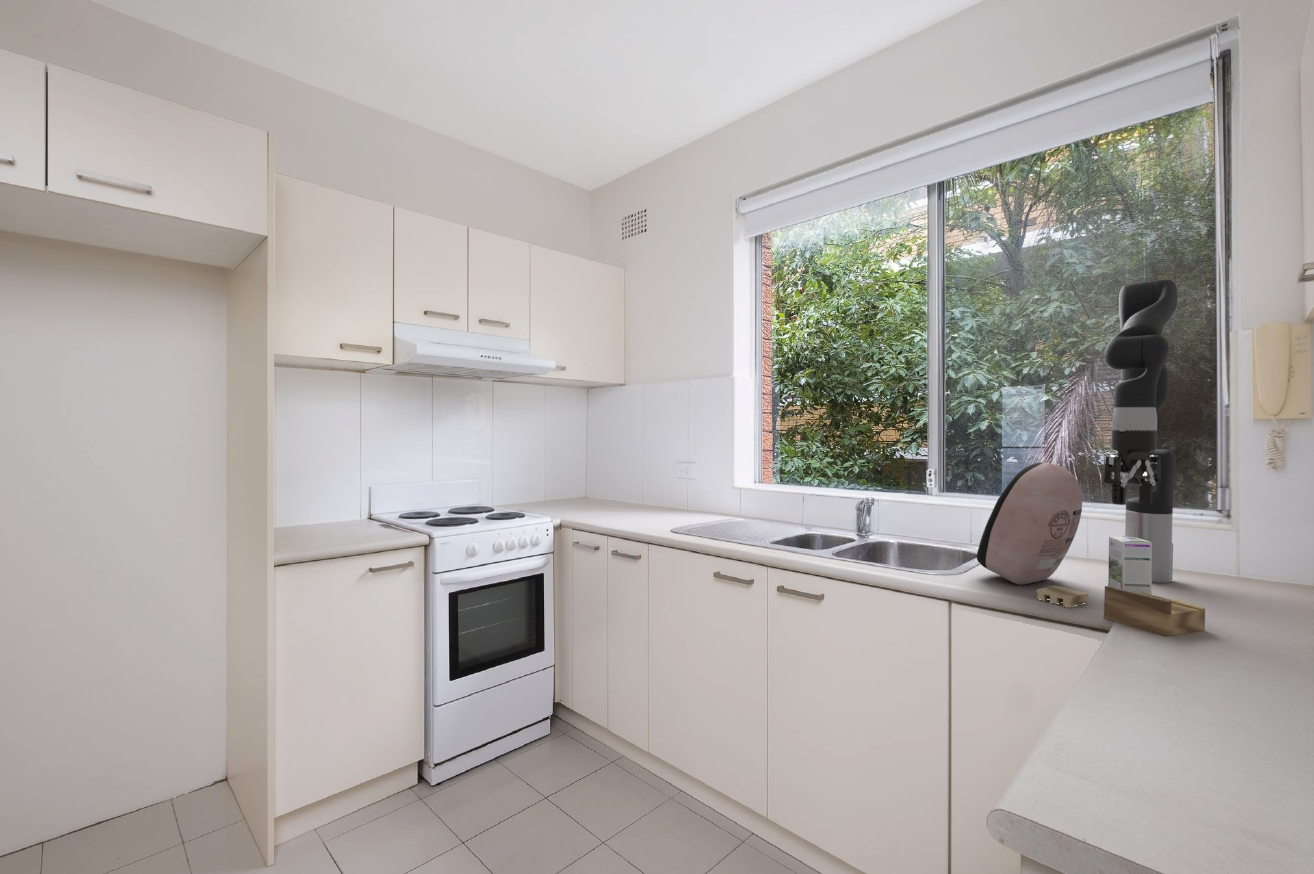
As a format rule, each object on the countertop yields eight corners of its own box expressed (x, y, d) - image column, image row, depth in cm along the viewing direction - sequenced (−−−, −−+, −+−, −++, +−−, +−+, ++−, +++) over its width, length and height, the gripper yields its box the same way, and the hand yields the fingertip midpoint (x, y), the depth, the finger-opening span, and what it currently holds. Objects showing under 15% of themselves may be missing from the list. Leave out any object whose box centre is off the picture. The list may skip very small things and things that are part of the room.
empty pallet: (1053, 595, 134) (1053, 585, 134) (1088, 603, 128) (1088, 593, 128) (1036, 599, 130) (1036, 589, 130) (1071, 608, 124) (1071, 597, 124)
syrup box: (1152, 609, 124) (1154, 541, 124) (1120, 607, 125) (1122, 540, 125) (1136, 602, 129) (1138, 536, 129) (1106, 600, 131) (1107, 535, 130)
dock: (1140, 612, 122) (1141, 582, 122) (1204, 630, 111) (1205, 596, 111) (1103, 617, 118) (1104, 586, 118) (1166, 636, 108) (1167, 601, 108)
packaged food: (1013, 568, 160) (1015, 458, 159) (1095, 585, 143) (1098, 463, 142) (964, 578, 149) (967, 460, 148) (1048, 598, 132) (1051, 465, 131)
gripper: (1137, 428, 132) (1135, 500, 133) (1093, 428, 128) (1091, 502, 128) (1176, 429, 125) (1173, 504, 126) (1130, 428, 121) (1128, 507, 121)
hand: (1132, 503), depth 127 cm, fingers open, 8 cm apart
